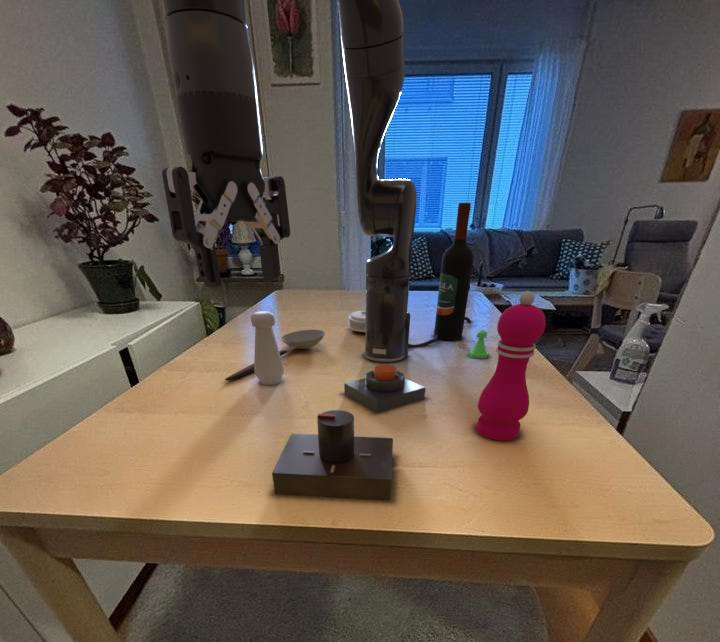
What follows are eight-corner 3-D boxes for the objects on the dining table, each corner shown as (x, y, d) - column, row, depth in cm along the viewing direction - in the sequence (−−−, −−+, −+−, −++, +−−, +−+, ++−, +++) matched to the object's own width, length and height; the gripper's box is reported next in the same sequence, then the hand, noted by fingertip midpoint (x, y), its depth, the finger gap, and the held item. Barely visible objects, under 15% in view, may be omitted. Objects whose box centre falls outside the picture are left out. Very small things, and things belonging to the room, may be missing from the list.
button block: (390, 382, 79) (391, 362, 76) (424, 398, 72) (426, 377, 70) (344, 394, 73) (343, 373, 71) (376, 413, 67) (377, 390, 64)
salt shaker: (278, 387, 76) (270, 316, 69) (251, 385, 77) (240, 315, 70) (289, 377, 81) (282, 309, 73) (263, 375, 82) (253, 308, 74)
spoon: (334, 342, 100) (333, 330, 98) (248, 391, 76) (244, 376, 75) (299, 340, 105) (297, 329, 103) (208, 386, 81) (204, 371, 80)
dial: (355, 446, 51) (355, 408, 48) (352, 463, 48) (352, 424, 45) (322, 444, 52) (320, 406, 49) (316, 462, 48) (313, 422, 45)
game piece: (491, 356, 93) (496, 330, 90) (479, 359, 91) (484, 332, 88) (477, 352, 96) (481, 326, 93) (465, 355, 94) (469, 328, 91)
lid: (398, 327, 116) (399, 309, 113) (382, 338, 106) (383, 318, 104) (359, 323, 120) (359, 305, 117) (340, 332, 111) (340, 313, 108)
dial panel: (391, 456, 55) (393, 436, 53) (390, 500, 47) (391, 478, 45) (293, 452, 56) (291, 432, 54) (274, 493, 48) (271, 471, 46)
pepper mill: (514, 447, 57) (553, 298, 46) (466, 434, 61) (492, 292, 49) (526, 428, 62) (563, 290, 51) (481, 417, 66) (507, 285, 54)
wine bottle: (464, 341, 104) (485, 202, 87) (435, 340, 104) (451, 202, 87) (458, 333, 110) (477, 203, 93) (431, 333, 110) (445, 203, 94)
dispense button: (386, 372, 73) (387, 363, 72) (400, 378, 70) (401, 369, 69) (369, 376, 71) (369, 367, 70) (382, 383, 68) (383, 373, 67)
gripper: (170, 71, 31) (212, 294, 40) (297, 104, 41) (308, 279, 50) (123, 85, 35) (171, 286, 44) (250, 113, 44) (267, 274, 53)
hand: (244, 282), depth 47 cm, fingers open, 8 cm apart
